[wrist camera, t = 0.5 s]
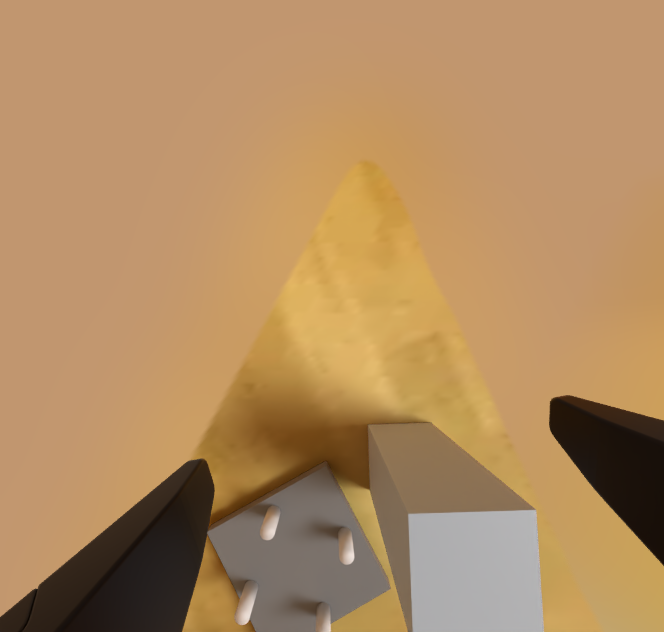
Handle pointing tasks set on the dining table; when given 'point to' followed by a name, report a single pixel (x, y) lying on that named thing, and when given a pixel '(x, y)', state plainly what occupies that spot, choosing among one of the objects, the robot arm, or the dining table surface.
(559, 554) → the dining table surface
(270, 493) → the plate
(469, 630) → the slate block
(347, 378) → the dining table surface
